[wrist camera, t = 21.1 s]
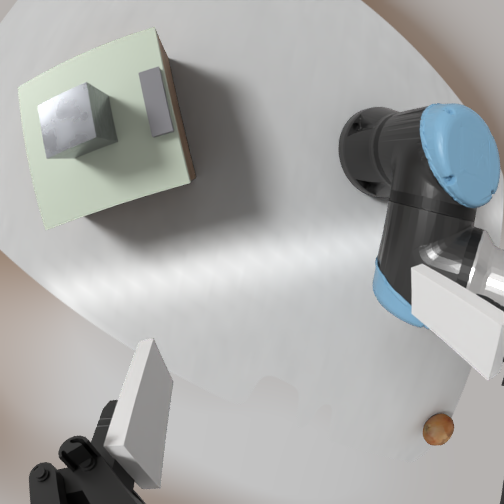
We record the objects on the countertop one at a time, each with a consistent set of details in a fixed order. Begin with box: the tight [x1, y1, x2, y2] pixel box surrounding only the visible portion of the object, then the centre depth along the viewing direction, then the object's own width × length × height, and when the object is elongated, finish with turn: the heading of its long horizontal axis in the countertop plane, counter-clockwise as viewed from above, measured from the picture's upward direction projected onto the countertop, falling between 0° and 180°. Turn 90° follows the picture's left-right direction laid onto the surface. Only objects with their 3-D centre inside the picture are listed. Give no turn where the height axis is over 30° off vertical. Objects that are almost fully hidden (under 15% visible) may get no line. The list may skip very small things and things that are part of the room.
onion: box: [423, 414, 454, 445], centre depth 65 cm, size 10×10×10 cm
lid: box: [18, 27, 191, 230], centre depth 31 cm, size 20×20×3 cm
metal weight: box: [38, 82, 118, 159], centre depth 27 cm, size 6×6×7 cm
